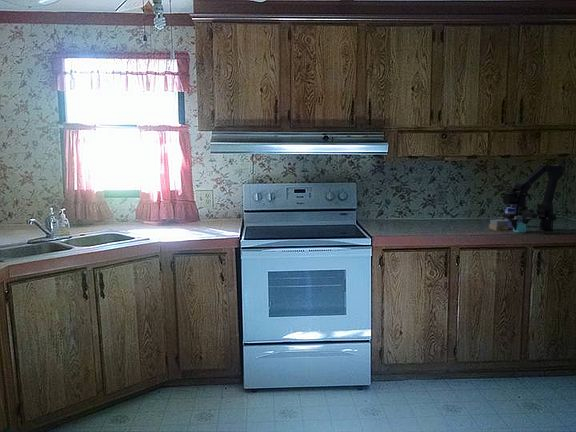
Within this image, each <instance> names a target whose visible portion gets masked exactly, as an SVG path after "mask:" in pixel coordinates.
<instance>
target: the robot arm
mask: <svg viewBox="0 0 576 432" xmlns="http://www.w3.org/2000/svg"><path fill="white" fill-rule="evenodd" d="M564 172H565V167H564V166H563V165H561V164H550V165H549V164H540V165H539V166H538V167H537V168H536V169H535V170H534V171H533V172H532V173H530V174H529V175H528V176H526V178H524V179H522V180H519V181H518V182H516V183H515V184H514V186H513V188H512V189H511V191H510V192H506V193H505V195H504V196H503V198H502V201H503V204H504V205H507V206H510V205H511V206H512V205H513V204H516V205H514V207H515V212H514V214H511V213H503V215H502V218H503V219H505V218H506V219H510V221H511V223H512V225H513V227H512V229H513V228H514V230H516V228H517V220H518V219H516V218H517V217H523V218H522V223H524V224H526V226H527V225H528V223H529V221H531V220H533V219H537V218H538V220H540V222H539V227H538V230H541V231H545V232H546V231H548V232H549V231H555V229H554V221H556V220H557V217H558V216H557V215H555V213H554V206H553V201H554V197H555V193H556V190H557V185H558V181H559V180H560V179H561V178H562V177H563V175H564ZM546 173H547V177H548V181H547V185H546V188H545V192H544V195H543V196H544V197H543V200H542V202H541V204H539V203H538V204H537V208H536V210H535V209H534V208H533V209H532V208H531V209H529V208H528V207H529V206H527V199H528V198H527V197H530V196H531V194H529V193H528V192H529V191H530V189H531V188H532V186H533V185H534V183H535V182H536V181H538V180H539V178H541V177H542V176H543V175H544V174H546Z"/></svg>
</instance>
